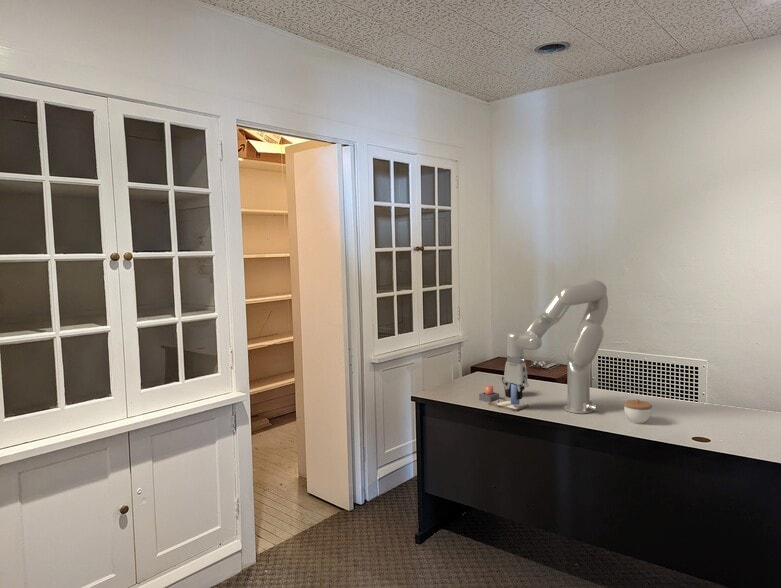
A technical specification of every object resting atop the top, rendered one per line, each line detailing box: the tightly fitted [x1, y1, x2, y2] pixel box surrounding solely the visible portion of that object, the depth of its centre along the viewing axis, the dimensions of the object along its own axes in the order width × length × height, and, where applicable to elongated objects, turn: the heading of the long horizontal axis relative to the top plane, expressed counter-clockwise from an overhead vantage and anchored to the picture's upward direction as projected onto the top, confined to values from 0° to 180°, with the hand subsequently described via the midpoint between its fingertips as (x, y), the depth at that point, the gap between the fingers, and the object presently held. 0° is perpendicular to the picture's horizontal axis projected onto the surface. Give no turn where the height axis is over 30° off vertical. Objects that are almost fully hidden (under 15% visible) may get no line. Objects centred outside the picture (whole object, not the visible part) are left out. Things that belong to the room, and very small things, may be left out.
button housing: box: [478, 391, 500, 403], centre depth 267 cm, size 7×7×3 cm
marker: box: [510, 383, 521, 405], centre depth 250 cm, size 4×4×12 cm
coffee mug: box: [501, 375, 509, 398], centre depth 273 cm, size 12×9×10 cm
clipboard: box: [487, 398, 530, 412], centre depth 256 cm, size 16×10×1 cm, turn 41°
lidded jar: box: [623, 398, 653, 425], centre depth 227 cm, size 11×11×9 cm
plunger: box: [484, 385, 494, 395], centre depth 266 cm, size 4×4×5 cm
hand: (515, 397), depth 250 cm, fingers closed on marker, 4 cm apart
